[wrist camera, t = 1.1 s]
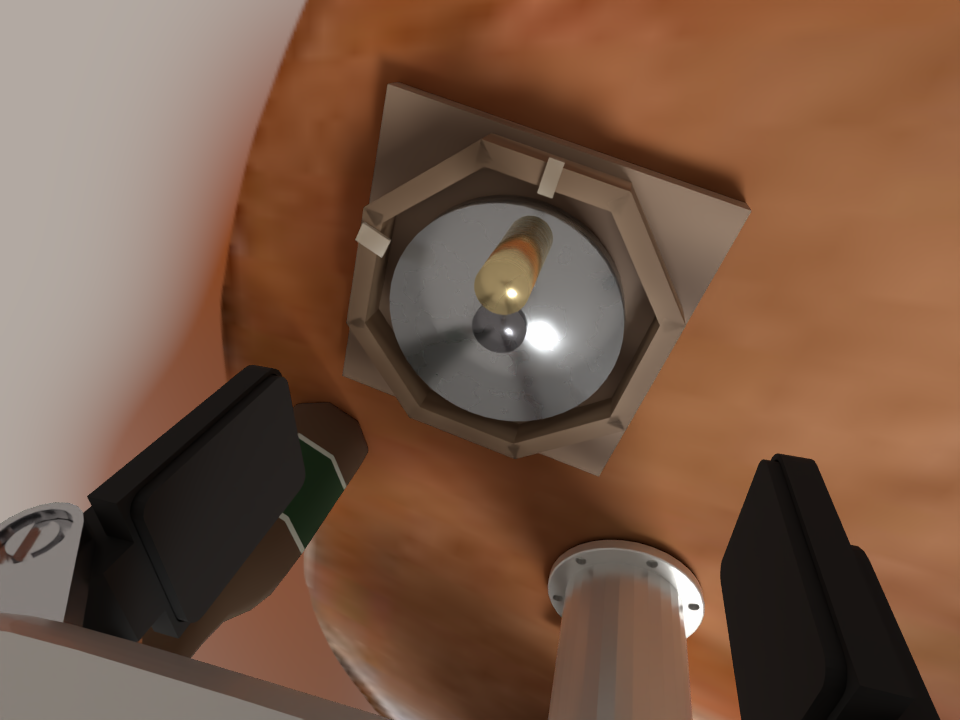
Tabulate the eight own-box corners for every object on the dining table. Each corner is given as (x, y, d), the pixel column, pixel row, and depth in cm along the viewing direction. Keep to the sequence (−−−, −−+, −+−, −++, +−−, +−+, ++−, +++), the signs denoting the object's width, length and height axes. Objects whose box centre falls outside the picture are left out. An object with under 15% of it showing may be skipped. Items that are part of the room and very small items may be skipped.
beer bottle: (368, 481, 47) (164, 809, 27) (288, 455, 48) (32, 752, 28) (374, 413, 42) (137, 742, 22) (285, 385, 43) (-18, 677, 23)
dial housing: (600, 462, 39) (596, 501, 36) (351, 365, 40) (326, 393, 37) (746, 203, 28) (760, 224, 25) (398, 81, 29) (368, 86, 26)
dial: (573, 432, 36) (556, 533, 29) (385, 359, 37) (320, 438, 30) (667, 245, 29) (677, 317, 21) (426, 159, 30) (354, 198, 22)
